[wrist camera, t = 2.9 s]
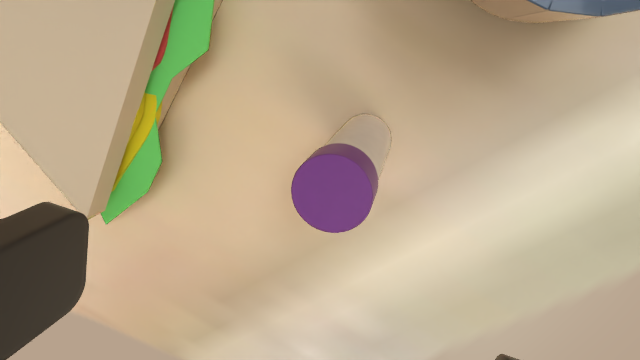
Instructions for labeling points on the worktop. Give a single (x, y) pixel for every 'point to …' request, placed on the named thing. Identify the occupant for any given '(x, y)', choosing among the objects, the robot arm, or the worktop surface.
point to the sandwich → (96, 89)
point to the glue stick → (342, 175)
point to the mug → (555, 9)
